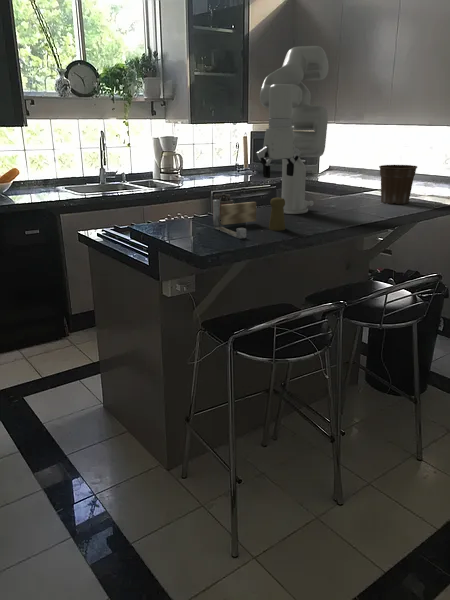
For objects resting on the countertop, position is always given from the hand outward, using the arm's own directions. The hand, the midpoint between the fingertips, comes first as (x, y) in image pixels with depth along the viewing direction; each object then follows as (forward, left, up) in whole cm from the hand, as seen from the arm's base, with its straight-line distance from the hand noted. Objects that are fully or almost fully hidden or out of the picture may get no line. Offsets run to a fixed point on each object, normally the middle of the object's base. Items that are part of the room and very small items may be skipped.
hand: (278, 176), depth 177 cm
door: (+9, -12, -17) cm, 23 cm away
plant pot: (-77, -19, -18) cm, 81 cm away
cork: (0, 0, -18) cm, 18 cm away
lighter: (+9, -24, -18) cm, 32 cm away
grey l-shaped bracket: (+18, -3, -18) cm, 26 cm away
